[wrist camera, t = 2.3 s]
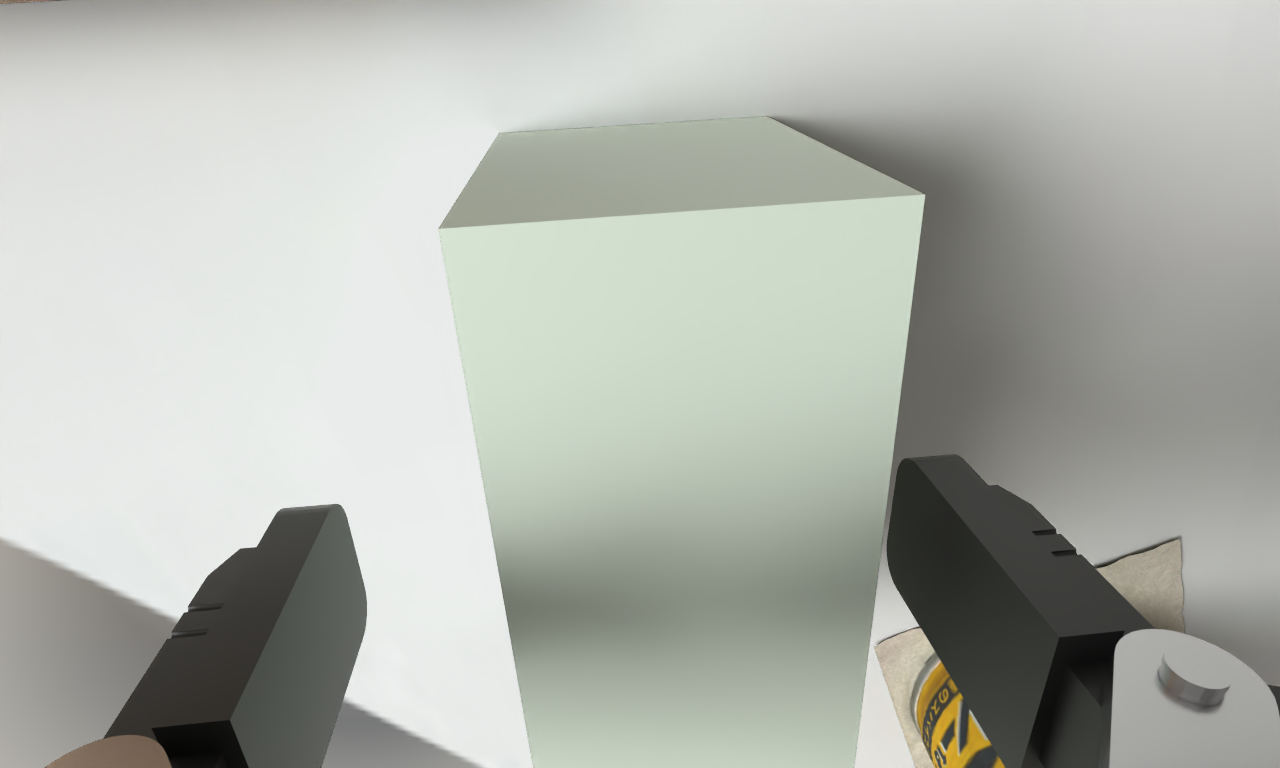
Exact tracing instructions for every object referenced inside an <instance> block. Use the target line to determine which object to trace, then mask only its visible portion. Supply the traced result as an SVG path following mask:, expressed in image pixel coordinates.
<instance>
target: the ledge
mask: <svg viewBox="0 0 1280 768" xmlns="http://www.w3.org/2000/svg"><path fill="white" fill-rule="evenodd" d="M43 1H61V0H0V4H5V3H24V2H43Z"/></svg>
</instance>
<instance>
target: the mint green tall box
mask: <svg viewBox="0 0 1280 768" xmlns="http://www.w3.org/2000/svg"><path fill="white" fill-rule="evenodd" d="M924 202H925V194H923V193H921V192H919V191H917V190H915V189H913V188H911V187H909V186H907V185H905V184H903V183H901V182H899V181H897V180H895V179H893V178H891V177H889V176H887V175H885V174H883V173H881V172H879V171H877V170H875V169H873V168H871V167H869V166H867V165H865V164H863V163H861V162H859V161H857V160H855V159H853V158H850V157H848V156H846V155H844V154H842V153H840V152H838V151H836V150H834V149H832V148H830V147H828V146H826V145H824V144H822V143H820V142H818V141H816V140H814V139H812V138H810V137H808V136H806V135H804V134H802V133H800V132H798V131H796V130H794V129H792V128H790V127H788V126H786V125H784V124H782V123H780V122H778V121H776V120H774V119H772V118H770V117H768V116H759V117H743V118H727V119H712V120H696V121H681V122H665V123H650V124H634V125H618V126H603V127H587V128H572V129H556V130H541V131H525V132H509V133H499V134H498V136H497V137H496V139H495V140H494V142H493V143H492V145H491V147H490V148H489V150H488V151H487V153H486V154H485V156H484V158H483V159H482V161H481V162H480V164H479V166H478V167H477V169H476V170H475V172H474V173H473V175H472V177H471V178H470V180H469V181H468V183H467V184H466V186H465V188H464V189H463V191H462V192H461V194H460V195H459V197H458V199H457V200H456V202H455V203H454V205H453V206H452V208H451V210H450V211H449V213H448V214H447V216H446V218H445V219H444V221H443V222H442V224H441V225H440V227H439V229H438V230H439V236H440V242H441V247H442V253H443V259H444V264H445V270H446V276H447V281H448V287H449V293H450V298H451V304H452V310H453V315H454V321H455V327H456V332H457V338H458V344H459V349H460V355H461V361H462V366H463V372H464V378H465V383H466V389H467V395H468V400H469V406H470V412H471V417H472V423H473V429H474V434H475V440H476V446H477V451H478V457H479V463H480V468H481V474H482V480H483V485H484V491H485V497H486V502H487V508H488V514H489V519H490V525H491V531H492V536H493V542H494V548H495V553H496V559H497V565H498V570H499V576H500V582H501V587H502V593H503V599H504V604H505V610H506V616H507V621H508V627H509V633H510V638H511V644H512V650H513V655H514V661H515V667H516V673H517V678H518V684H519V690H520V695H521V701H522V707H523V712H524V718H525V724H526V729H527V735H528V741H529V746H530V752H531V758H532V763H533V768H854V765H855V757H856V749H857V741H858V733H859V725H860V717H861V709H862V701H863V693H864V685H865V677H866V669H867V661H868V653H869V645H870V636H871V628H872V620H873V612H874V604H875V596H876V588H877V580H878V572H879V564H880V556H881V548H882V540H883V532H884V524H885V516H886V508H887V500H888V492H889V483H890V475H891V467H892V459H893V451H894V443H895V435H896V427H897V419H898V411H899V403H900V395H901V387H902V379H903V371H904V363H905V355H906V347H907V338H908V330H909V322H910V314H911V306H912V298H913V290H914V282H915V274H916V266H917V258H918V250H919V242H920V234H921V226H922V218H923V210H924Z"/></svg>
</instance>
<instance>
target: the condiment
mask: <svg viewBox="0 0 1280 768" xmlns="http://www.w3.org/2000/svg"><path fill="white" fill-rule="evenodd" d="M1181 568H1182V560H1181V543H1180V539H1177V540H1175V541H1172V542H1169V543H1166V544H1163V545H1161V546H1159V547H1157V548H1155V549H1153V550H1150V551H1147V552H1144V553H1140V554H1136V555H1131V556H1128V557H1125V558H1123V559H1120V560H1118V561H1117V562H1115V563H1113V564H1111V565H1109V566H1106V567H1102V568H1097V569H1096V570H1097V571H1098V572H1099V573H1100V574H1101V575H1102V576H1103V577H1104V578H1105V579H1106V580H1107V581H1108V582H1109V583H1110V584H1111V585H1112V586H1113V587H1114V588H1115V589H1116V590H1117V591H1118V592H1119V593H1120V594H1121V595H1122V596H1123V597H1124V598H1125V599H1126V600H1127V601H1128V602H1129V603H1130V604H1131V605H1132V606H1133V607H1134V608H1135V609H1136V610H1137V611H1138V612H1139V613H1140V614H1141V615H1142V616H1143V617H1144V618H1145V619H1146V620H1147V621H1148V622H1149V623H1150V624H1151V625H1152V626H1153V627H1154V628H1155V629H1163V630H1170V631H1176V632H1180V633H1184V634H1185V625H1184V619H1183V617H1182V615H1181V612H1182V610H1183V604H1184V601H1183V586H1182V581H1181ZM874 649H875V652H876V655H877V658H878V660H879V663H880V666H881V669H882V672H883V676H884V678H885V681H886V684H887V687H888V690H889V693H890V696H891V699H892V702H893V704H894V707H895V710H896V713H897V716H898V719H899V722H900V725H901V727H902V730H903V733H904V736H905V739H906V741H907V745H908V747H909V750H910V753H911V756H912V759H913V761H914V765H915V767H916V768H1005V766H1004V765H1003V763H1002V761H1001V760H1000V758H999V756H998V755H997V753H996V751H995V750H994V748H993V746H992V745H991V743H990V741H989V740H988V738H987V736H986V735H985V733H984V732H983V730H982V728H981V727H980V725H979V723H978V722H977V720H976V718H975V717H974V715H973V713H972V712H971V710H970V708H969V707H968V705H967V703H966V702H965V700H964V699H963V697H962V695H961V694H960V692H959V690H958V689H957V687H956V685H955V684H954V682H953V680H952V679H951V677H950V675H949V674H948V672H947V670H946V669H945V667H944V665H943V664H942V662H941V661H940V659H939V657H938V656H937V654H936V652H935V651H934V649H933V647H932V646H931V644H930V642H929V641H928V639H927V637H926V636H925V634H924V632H923V631H922V629H921V628H918V629H912V630H909V631H907V632H905V633H901V634H898V635H897V636H894V637H892V638H889V639H887V640H885V641H883V642H881V643H880V644H879V645H878V646H875V647H874Z"/></svg>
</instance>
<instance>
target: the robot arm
mask: <svg viewBox="0 0 1280 768" xmlns="http://www.w3.org/2000/svg"><path fill="white" fill-rule="evenodd" d="M887 560H888V566H889V570H890V574H891V577H892V580H893V582H894V584H895V586H896V588H897V590H898V591H899V593H900V594H901V596H902V598H903V599H904V601H905V603H906V604H907V606H908V608H909V609H910V611H911V613H912V614H913V616H914V618H915V619H916V621H917V623H918V624H919V626H920V628H921V629H922V631H923V632H924V634H925V636H926V637H927V639H928V641H929V642H930V644H931V646H932V647H933V649H934V651H935V652H936V654H937V656H938V657H939V659H940V661H941V662H942V664H943V665H944V667H945V669H946V670H947V672H948V674H949V675H950V677H951V679H952V680H953V682H954V684H955V685H956V687H957V689H958V690H959V692H960V694H961V695H962V697H963V699H964V700H965V702H966V703H967V705H968V707H969V708H970V710H971V712H972V713H973V715H974V717H975V718H976V720H977V722H978V723H979V725H980V727H981V728H982V730H983V732H984V733H985V735H986V736H987V738H988V740H989V741H990V743H991V745H992V746H993V748H994V750H995V751H996V753H997V755H998V756H999V758H1000V760H1001V761H1002V763H1003V765H1004V766H1005V768H1280V687H1278V686H1271V685H1267V684H1266V683H1265V682H1264V681H1263V680H1262V678H1261V677H1260V676H1259V675H1258V674H1257V673H1256V672H1254V671H1253V670H1252V669H1251V668H1250V667H1249V666H1247V665H1246V664H1245V663H1244V662H1242V661H1241V660H1240V659H1238V658H1237V657H1235V656H1233V655H1232V654H1230V653H1229V652H1227V651H1225V650H1223V649H1221V648H1220V647H1218V646H1216V645H1214V644H1211V643H1209V642H1207V641H1205V640H1202V639H1199V638H1197V637H1194V636H1191V635H1188V634H1184V633H1180V632H1176V631H1170V630H1163V629H1155V628H1154V627H1153V626H1152V625H1151V624H1150V623H1149V622H1148V621H1147V620H1146V619H1145V618H1144V617H1143V616H1142V615H1141V614H1140V613H1139V612H1138V611H1137V610H1136V609H1135V608H1134V607H1133V606H1132V605H1131V604H1130V603H1129V602H1128V601H1127V600H1126V599H1125V598H1124V597H1123V596H1122V595H1121V594H1120V593H1119V592H1118V591H1117V590H1116V589H1115V588H1114V587H1113V586H1112V585H1111V584H1110V583H1109V582H1108V581H1107V580H1106V579H1105V578H1104V577H1103V576H1102V575H1101V574H1100V573H1099V572H1098V571H1097V570H1096V569H1095V568H1094V567H1093V566H1092V565H1091V564H1090V563H1089V562H1088V561H1087V560H1086V559H1085V558H1084V557H1083V556H1082V555H1077V553H1076V549H1075V548H1074V547H1073V546H1072V545H1071V544H1070V543H1069V542H1068V541H1067V540H1066V539H1065V538H1064V537H1063V536H1062V535H1061V534H1057V533H1056V529H1055V528H1054V527H1053V526H1052V525H1051V524H1050V523H1049V522H1048V521H1047V520H1046V519H1045V518H1044V517H1043V516H1042V515H1041V514H1040V513H1039V512H1038V511H1037V510H1036V509H1035V508H1034V507H1033V506H1032V505H1031V504H1030V503H1028V502H1026V501H1024V500H1023V499H1021V498H1019V497H1017V496H1016V495H1014V494H1012V493H1010V492H1009V491H1007V490H1005V489H1003V488H1001V487H1000V486H998V485H992V486H988V485H987V484H986V483H985V482H984V481H983V479H982V478H981V477H980V476H979V475H978V474H977V473H976V472H975V471H974V470H973V469H972V468H971V467H970V466H969V465H968V464H967V462H966V461H965V460H964V459H963V458H961V457H960V456H958V455H955V454H954V455H942V456H930V457H917V458H906V459H904V460H902V462H901V463H900V465H899V467H898V471H897V476H896V483H895V490H894V497H893V504H892V510H891V517H890V524H889V531H888V538H887ZM366 618H367V600H366V592H365V587H364V583H363V579H362V575H361V571H360V567H359V563H358V559H357V555H356V551H355V547H354V543H353V539H352V536H351V532H350V528H349V524H348V520H347V516H346V513H345V511H344V509H343V508H342V506H341V505H339V504H331V505H318V506H306V507H294V508H283V509H281V510H279V511H278V512H277V514H276V515H275V517H274V518H273V520H272V522H271V524H270V525H269V527H268V529H267V530H266V532H265V534H264V536H263V537H262V539H261V541H260V542H259V544H258V546H257V547H255V548H243V549H239V550H238V551H237V552H236V553H235V554H233V555H232V556H231V557H230V558H229V559H227V560H226V561H225V562H224V563H223V564H221V565H220V566H219V567H218V568H217V569H216V570H214V571H213V572H212V573H211V574H210V575H208V576H207V578H206V579H205V581H204V583H203V584H202V586H201V587H200V589H199V590H198V592H197V593H196V595H195V597H194V598H193V600H192V601H191V603H190V604H189V606H188V612H186V613H184V614H183V615H182V617H181V618H180V620H179V621H178V623H177V625H176V626H175V628H174V629H173V631H172V638H171V639H167V640H166V642H165V643H164V645H163V646H162V648H161V649H160V651H159V653H158V654H157V656H156V657H155V659H154V661H153V662H152V663H151V665H150V667H149V668H148V670H147V671H146V673H145V674H144V676H143V678H142V679H141V681H140V682H139V684H138V685H137V687H136V688H135V690H134V692H133V693H132V695H131V696H130V698H129V699H128V701H127V702H126V704H125V706H124V707H123V709H122V710H121V712H120V713H119V715H118V716H117V718H116V720H115V721H114V723H113V724H112V726H111V727H110V729H109V730H108V732H107V734H106V735H105V737H104V738H103V739H101V740H98V741H95V742H92V743H89V744H87V745H84V746H82V747H80V748H78V749H76V750H73V751H71V752H69V753H67V754H66V755H64V756H62V757H61V758H59V759H57V760H55V761H54V762H52V763H51V764H49V765H48V766H46V767H45V768H321V767H322V764H323V761H324V758H325V754H326V751H327V748H328V745H329V742H330V739H331V736H332V733H333V730H334V726H335V723H336V720H337V717H338V714H339V711H340V708H341V705H342V702H343V699H344V695H345V692H346V689H347V686H348V683H349V680H350V677H351V674H352V671H353V667H354V664H355V661H356V658H357V655H358V652H359V649H360V646H361V643H362V639H363V636H364V632H365V627H366Z"/></svg>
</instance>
